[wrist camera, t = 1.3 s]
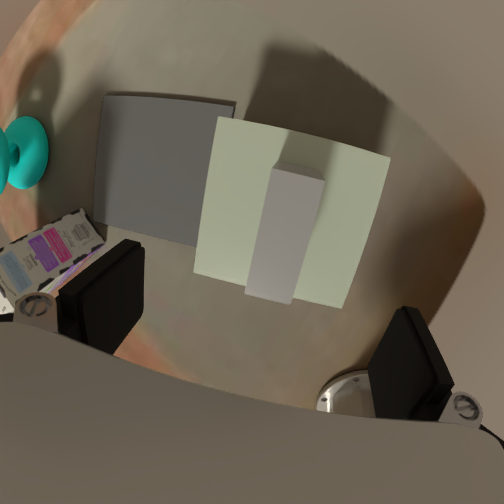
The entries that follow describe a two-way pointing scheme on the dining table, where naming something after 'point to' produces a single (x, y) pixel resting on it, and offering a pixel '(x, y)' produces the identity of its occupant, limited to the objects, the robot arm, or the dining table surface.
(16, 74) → the dining table surface
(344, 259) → the lid
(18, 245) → the candy box
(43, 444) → the robot arm
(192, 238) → the rubber mat
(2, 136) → the donuts
